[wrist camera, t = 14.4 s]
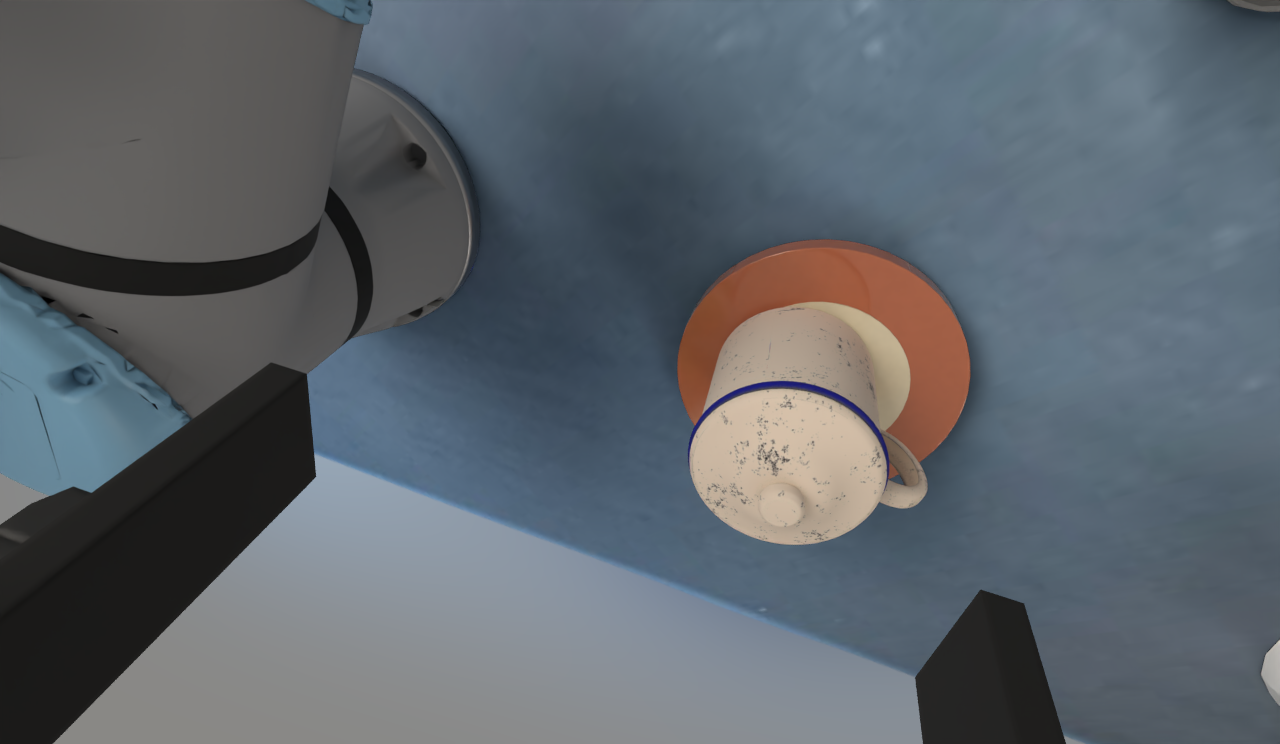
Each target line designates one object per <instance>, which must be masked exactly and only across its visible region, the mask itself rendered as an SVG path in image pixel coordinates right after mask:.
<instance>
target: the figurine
mask: <svg viewBox="0 0 1280 744" xmlns="http://www.w3.org/2000/svg"><path fill="white" fill-rule="evenodd" d="M1261 676H1262V678H1263V680H1264V682H1265V685H1266V687H1267V689H1268V691H1269V693H1270V695H1271V696H1272V697H1273V699H1274V700H1275V701H1276V703H1277V704H1278V705H1279V706H1280V640H1279V641H1278V642H1277V643H1276V644H1275V645H1274V646H1273V647H1272V648H1271V649H1270V650H1269V651H1268V652H1267V653H1266V655H1265V659H1264V663H1263V667H1262V672H1261Z"/></svg>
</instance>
